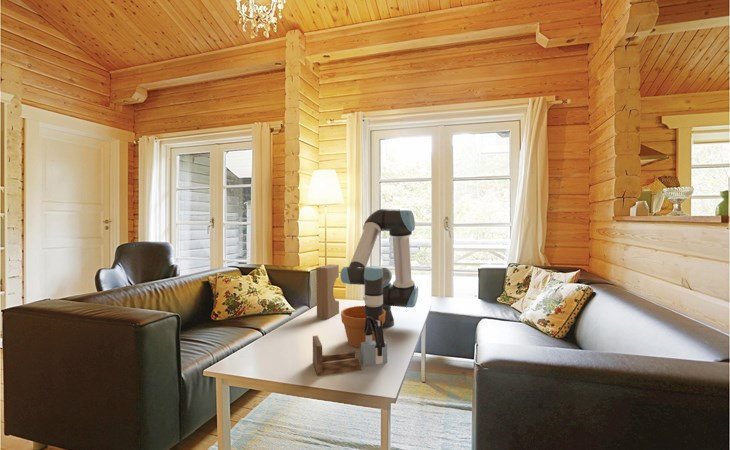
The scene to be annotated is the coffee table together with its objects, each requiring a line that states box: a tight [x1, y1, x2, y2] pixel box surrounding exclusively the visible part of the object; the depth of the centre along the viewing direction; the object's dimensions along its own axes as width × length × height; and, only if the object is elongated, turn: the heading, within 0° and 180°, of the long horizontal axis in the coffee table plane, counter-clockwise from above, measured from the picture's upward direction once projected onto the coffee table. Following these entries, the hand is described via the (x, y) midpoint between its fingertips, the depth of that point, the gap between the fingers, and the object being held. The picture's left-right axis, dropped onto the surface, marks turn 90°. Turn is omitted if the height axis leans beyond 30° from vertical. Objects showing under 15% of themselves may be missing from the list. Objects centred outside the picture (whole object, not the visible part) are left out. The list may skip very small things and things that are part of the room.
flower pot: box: [340, 305, 386, 349], centre depth 160 cm, size 21×21×15 cm
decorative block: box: [315, 264, 340, 320], centre depth 206 cm, size 15×8×30 cm, turn 157°
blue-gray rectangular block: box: [360, 339, 388, 367], centre depth 138 cm, size 10×4×8 cm, turn 106°
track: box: [312, 335, 362, 377], centre depth 134 cm, size 17×12×11 cm
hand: (373, 356), depth 138 cm, fingers open, 13 cm apart
